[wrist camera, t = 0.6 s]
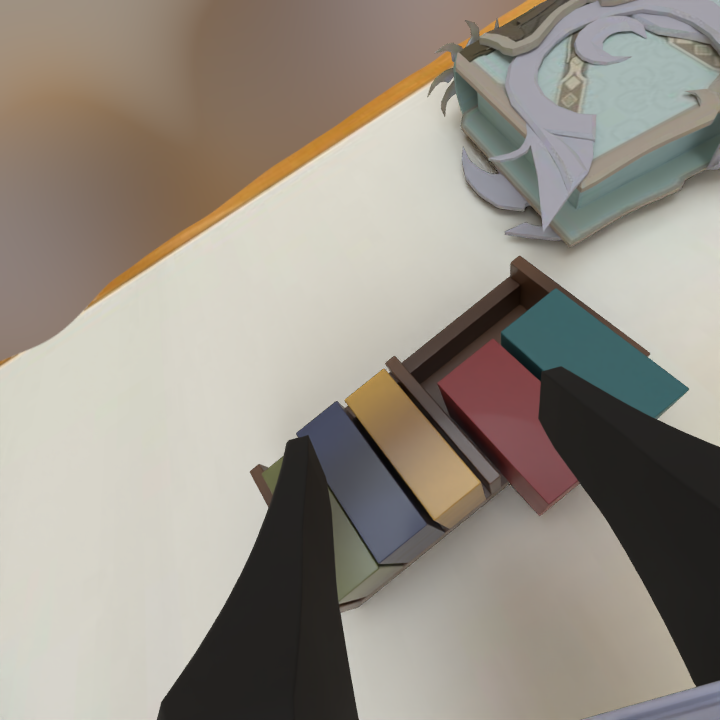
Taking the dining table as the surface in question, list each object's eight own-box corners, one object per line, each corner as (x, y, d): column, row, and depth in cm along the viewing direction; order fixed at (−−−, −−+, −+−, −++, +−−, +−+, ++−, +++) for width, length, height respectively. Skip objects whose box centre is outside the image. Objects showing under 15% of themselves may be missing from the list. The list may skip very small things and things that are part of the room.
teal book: (651, 424, 25) (690, 388, 20) (599, 467, 25) (624, 443, 20) (546, 335, 29) (555, 286, 24) (500, 372, 29) (500, 331, 24)
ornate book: (687, -12, 41) (406, 137, 43) (738, -159, 33) (386, 32, 34) (927, 107, 30) (536, 303, 32) (1096, -70, 22) (554, 207, 23)
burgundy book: (592, 472, 25) (615, 449, 20) (539, 516, 25) (548, 505, 20) (495, 377, 29) (492, 337, 24) (448, 414, 29) (436, 382, 24)
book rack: (625, 388, 28) (670, 326, 20) (358, 607, 27) (303, 625, 20) (517, 299, 32) (521, 223, 25) (287, 484, 32) (221, 462, 24)
